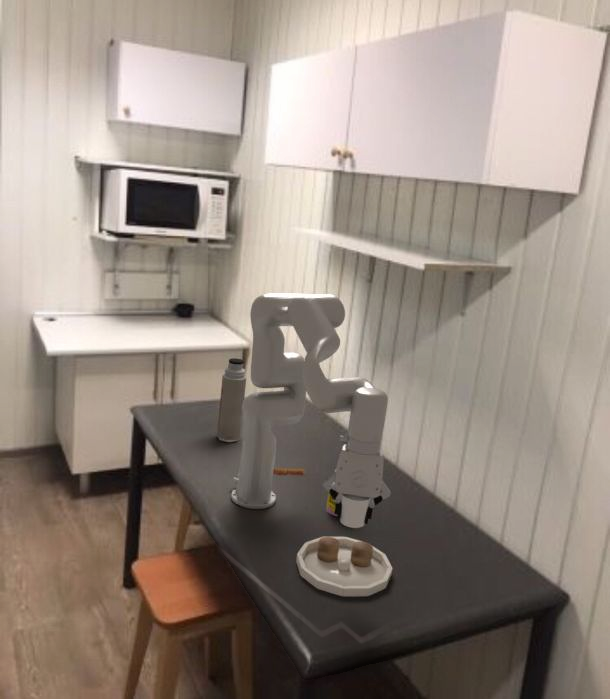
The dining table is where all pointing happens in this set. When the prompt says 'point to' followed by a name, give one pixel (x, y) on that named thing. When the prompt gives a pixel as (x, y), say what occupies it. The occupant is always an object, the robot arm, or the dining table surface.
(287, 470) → the chocolate bar
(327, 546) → the bead
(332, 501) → the supplement bottle
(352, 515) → the white rimmed cylinder
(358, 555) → the bead
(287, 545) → the dining table surface
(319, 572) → the tray
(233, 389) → the thermos bottle
